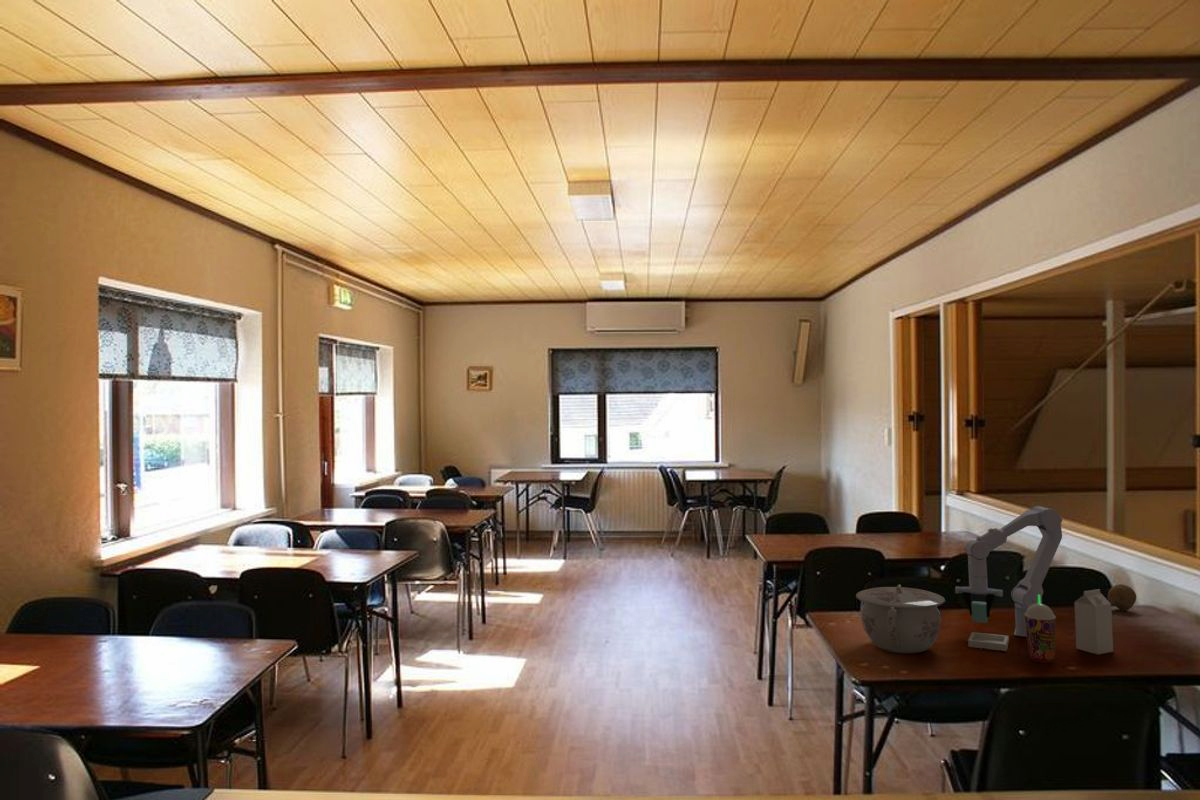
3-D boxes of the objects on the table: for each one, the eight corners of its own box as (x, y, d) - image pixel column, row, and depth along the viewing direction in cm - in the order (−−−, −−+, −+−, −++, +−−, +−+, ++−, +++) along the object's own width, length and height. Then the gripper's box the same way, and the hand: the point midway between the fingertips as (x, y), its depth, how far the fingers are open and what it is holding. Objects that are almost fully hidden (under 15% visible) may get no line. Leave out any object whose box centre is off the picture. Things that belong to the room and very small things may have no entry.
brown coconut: (1123, 614, 284) (1122, 587, 285) (1102, 609, 293) (1100, 583, 293) (1142, 612, 287) (1141, 585, 287) (1121, 607, 295) (1120, 581, 296)
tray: (1008, 642, 255) (1008, 635, 255) (1006, 651, 246) (1006, 644, 246) (972, 638, 261) (971, 631, 261) (968, 646, 251) (968, 640, 252)
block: (988, 619, 265) (987, 602, 265) (986, 623, 262) (985, 605, 262) (973, 618, 268) (972, 601, 268) (972, 621, 264) (971, 604, 264)
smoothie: (1042, 666, 231) (1039, 598, 231) (1020, 658, 239) (1017, 593, 239) (1064, 662, 233) (1061, 596, 234) (1041, 655, 241) (1038, 590, 242)
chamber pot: (904, 632, 270) (901, 572, 271) (967, 653, 245) (964, 588, 245) (838, 642, 260) (836, 581, 261) (897, 666, 235) (894, 597, 235)
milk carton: (1076, 649, 246) (1073, 589, 246) (1092, 646, 248) (1089, 587, 249) (1097, 655, 239) (1094, 593, 240) (1113, 652, 242) (1110, 591, 242)
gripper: (1002, 575, 265) (1004, 614, 264) (956, 572, 272) (958, 610, 272) (1000, 579, 259) (1003, 619, 258) (953, 576, 266) (955, 615, 266)
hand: (979, 615), depth 265 cm, fingers closed on block, 4 cm apart
